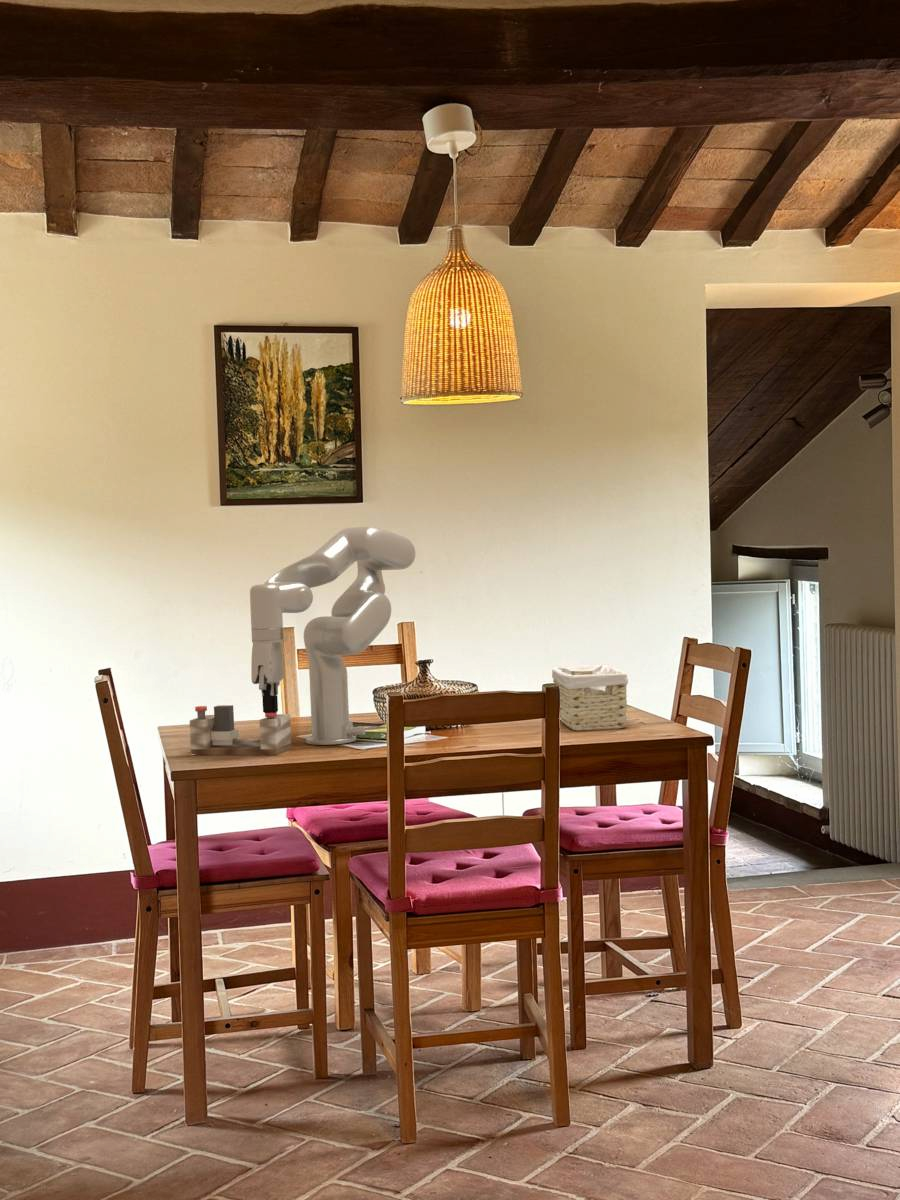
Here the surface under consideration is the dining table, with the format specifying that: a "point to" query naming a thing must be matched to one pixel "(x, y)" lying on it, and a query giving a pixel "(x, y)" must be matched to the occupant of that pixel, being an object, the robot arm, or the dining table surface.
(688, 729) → the dining table surface
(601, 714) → the storage basket
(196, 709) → the red rounded knob
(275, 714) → the red knob cap
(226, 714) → the carriage
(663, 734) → the dining table surface
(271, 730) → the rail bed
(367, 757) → the dining table surface
